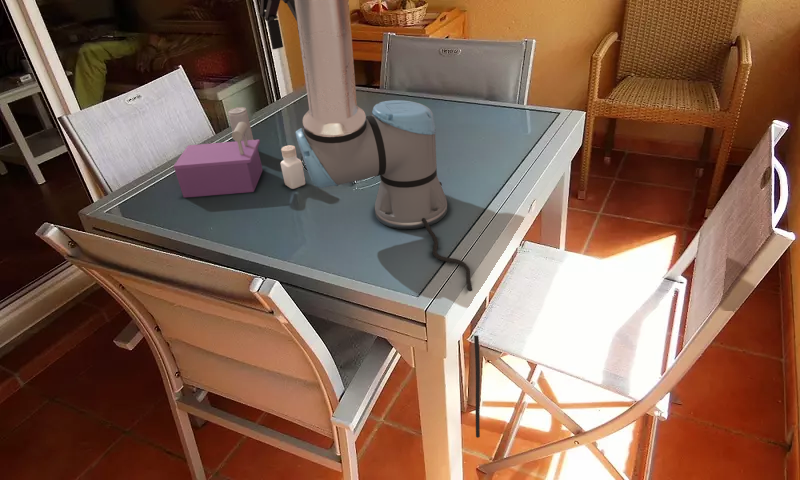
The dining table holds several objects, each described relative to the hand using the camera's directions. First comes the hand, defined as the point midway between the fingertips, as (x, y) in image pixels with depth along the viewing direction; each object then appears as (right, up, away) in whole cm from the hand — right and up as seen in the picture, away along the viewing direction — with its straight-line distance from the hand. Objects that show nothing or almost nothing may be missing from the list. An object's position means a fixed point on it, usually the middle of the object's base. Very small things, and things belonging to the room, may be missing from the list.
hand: (292, 52), depth 138 cm
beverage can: (-16, -22, +18) cm, 32 cm away
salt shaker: (+1, -32, -1) cm, 32 cm away
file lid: (-17, -25, -2) cm, 31 cm away
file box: (-17, -31, +2) cm, 36 cm away
